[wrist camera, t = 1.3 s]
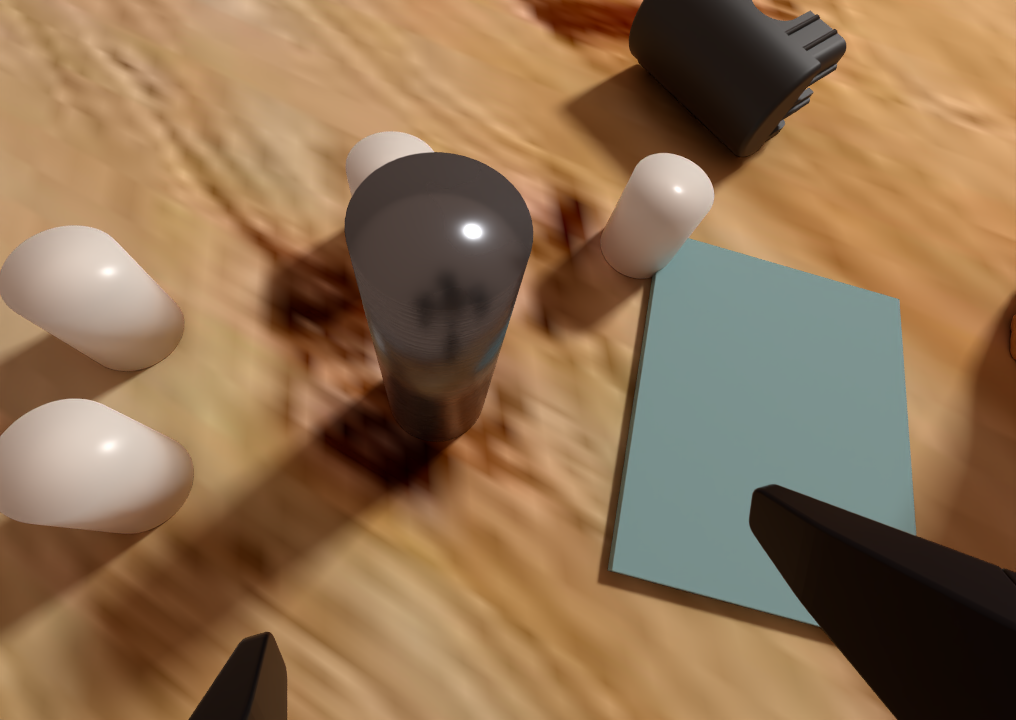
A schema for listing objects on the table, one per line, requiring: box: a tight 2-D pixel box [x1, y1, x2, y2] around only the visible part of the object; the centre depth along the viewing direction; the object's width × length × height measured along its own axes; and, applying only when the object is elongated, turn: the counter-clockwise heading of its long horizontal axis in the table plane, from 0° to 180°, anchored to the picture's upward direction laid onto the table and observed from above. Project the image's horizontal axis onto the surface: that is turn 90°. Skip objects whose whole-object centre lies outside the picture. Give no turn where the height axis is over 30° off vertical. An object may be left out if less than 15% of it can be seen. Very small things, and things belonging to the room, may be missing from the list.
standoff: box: [345, 152, 533, 441], centre depth 18 cm, size 4×4×13 cm
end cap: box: [629, 0, 846, 157], centre depth 31 cm, size 10×7×7 cm
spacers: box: [0, 132, 714, 534], centre depth 23 cm, size 14×29×5 cm, turn 105°
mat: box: [608, 238, 916, 627], centre depth 26 cm, size 18×14×1 cm
